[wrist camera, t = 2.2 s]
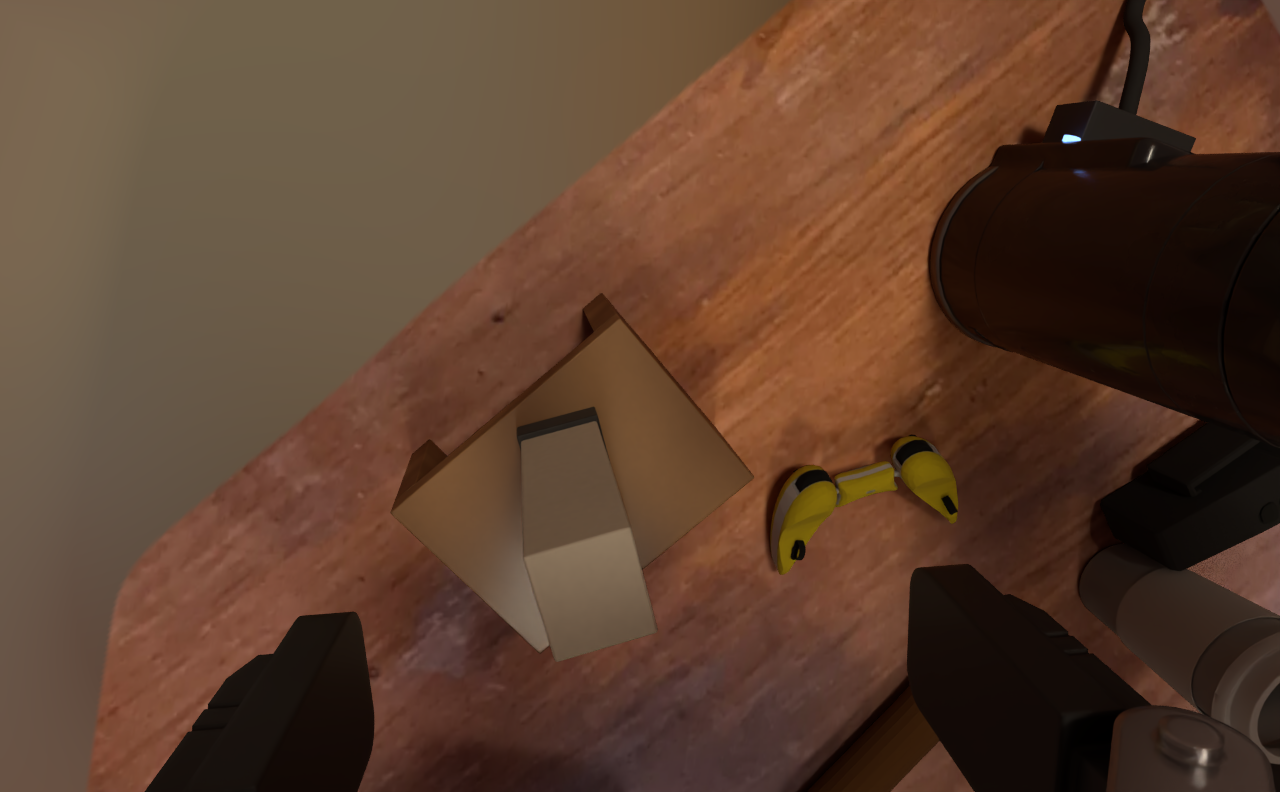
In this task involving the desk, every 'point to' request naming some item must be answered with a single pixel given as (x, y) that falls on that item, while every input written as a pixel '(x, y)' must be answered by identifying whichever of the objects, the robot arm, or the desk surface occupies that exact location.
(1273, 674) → the cup
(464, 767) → the desk surface
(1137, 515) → the walkie-talkie
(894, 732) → the hammer
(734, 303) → the desk surface
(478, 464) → the cardboard box
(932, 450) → the yellow twin-pod shape
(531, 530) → the beige and black block
